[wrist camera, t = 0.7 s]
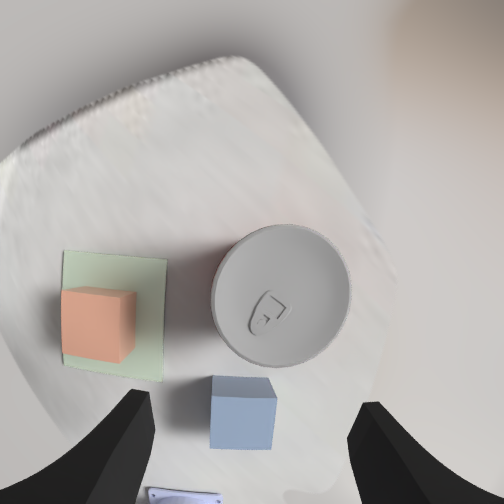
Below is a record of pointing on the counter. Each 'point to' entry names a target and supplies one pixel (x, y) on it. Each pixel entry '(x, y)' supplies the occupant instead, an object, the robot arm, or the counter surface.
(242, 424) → the blue brick
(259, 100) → the counter surface
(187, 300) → the counter surface
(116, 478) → the robot arm
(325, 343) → the canned food
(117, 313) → the terracotta brick
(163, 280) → the plate
